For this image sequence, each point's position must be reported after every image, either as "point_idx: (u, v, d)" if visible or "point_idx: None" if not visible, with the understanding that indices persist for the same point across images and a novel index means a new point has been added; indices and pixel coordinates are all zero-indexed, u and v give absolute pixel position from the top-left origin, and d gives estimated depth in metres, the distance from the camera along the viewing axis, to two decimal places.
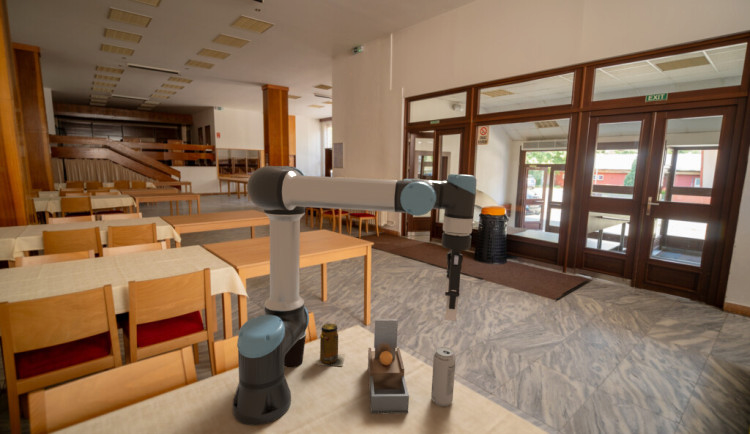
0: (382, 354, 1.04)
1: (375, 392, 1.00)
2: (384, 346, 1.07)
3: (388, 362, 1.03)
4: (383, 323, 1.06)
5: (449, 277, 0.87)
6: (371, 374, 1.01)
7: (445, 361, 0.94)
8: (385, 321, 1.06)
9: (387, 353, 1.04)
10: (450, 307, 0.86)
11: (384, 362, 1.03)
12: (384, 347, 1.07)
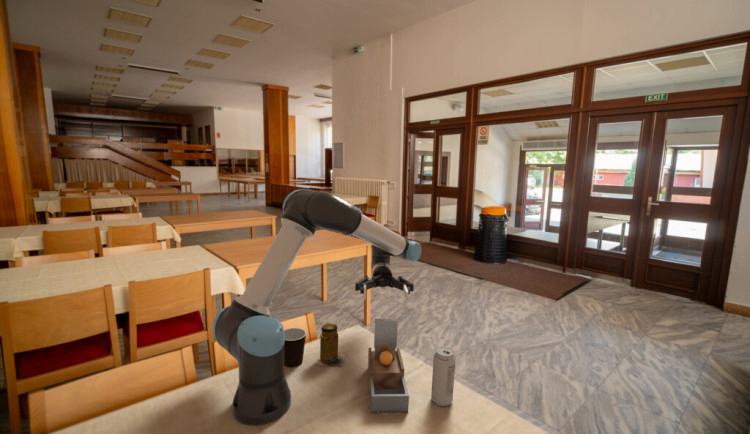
0: (382, 354, 1.04)
1: (375, 392, 1.00)
2: (384, 346, 1.07)
3: (388, 362, 1.03)
4: (383, 323, 1.06)
5: (399, 281, 1.22)
6: (371, 374, 1.01)
7: (445, 361, 0.94)
8: (385, 321, 1.06)
9: (387, 353, 1.04)
10: (409, 290, 1.16)
11: (384, 362, 1.03)
12: (384, 347, 1.07)
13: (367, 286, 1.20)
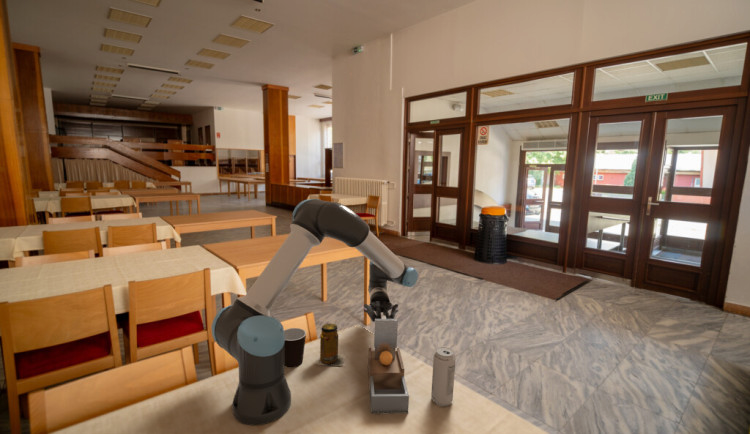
0: (382, 354, 1.04)
1: (375, 392, 1.00)
2: (384, 346, 1.07)
3: (388, 362, 1.03)
4: (383, 323, 1.06)
5: (387, 310, 1.22)
6: (371, 374, 1.01)
7: (445, 361, 0.94)
8: (385, 321, 1.06)
9: (387, 353, 1.04)
10: None
11: (384, 362, 1.03)
12: (384, 347, 1.07)
13: None
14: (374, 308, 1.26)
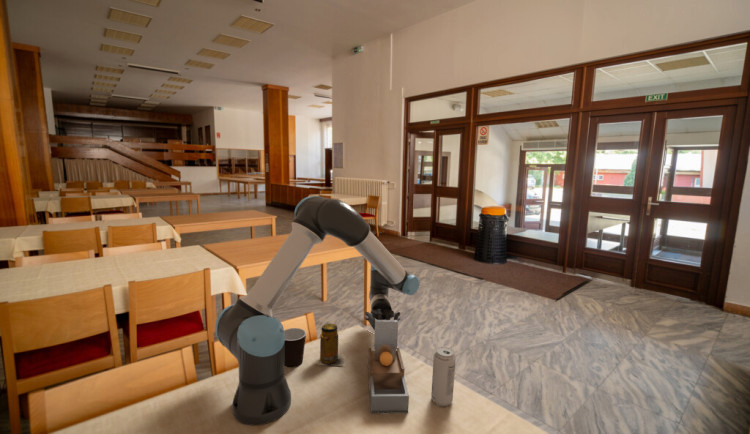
0: (382, 355, 1.04)
1: (375, 392, 1.00)
2: (384, 347, 1.06)
3: (388, 363, 1.03)
4: (383, 324, 1.05)
5: (389, 318, 1.18)
6: (371, 374, 1.01)
7: (445, 361, 0.94)
8: (385, 322, 1.05)
9: (387, 354, 1.04)
10: None
11: (384, 363, 1.03)
12: (384, 348, 1.06)
13: None
14: (376, 316, 1.22)
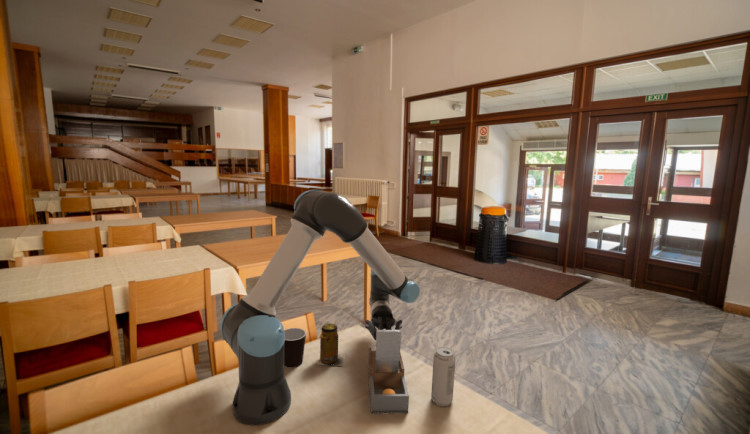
0: (384, 391, 0.95)
1: (375, 392, 1.00)
2: (387, 359, 1.00)
3: None
4: (385, 334, 0.99)
5: (390, 327, 1.12)
6: (371, 374, 1.01)
7: (445, 360, 0.94)
8: (388, 332, 0.99)
9: (390, 389, 0.95)
10: None
11: None
12: (386, 360, 1.00)
13: None
14: (376, 324, 1.16)
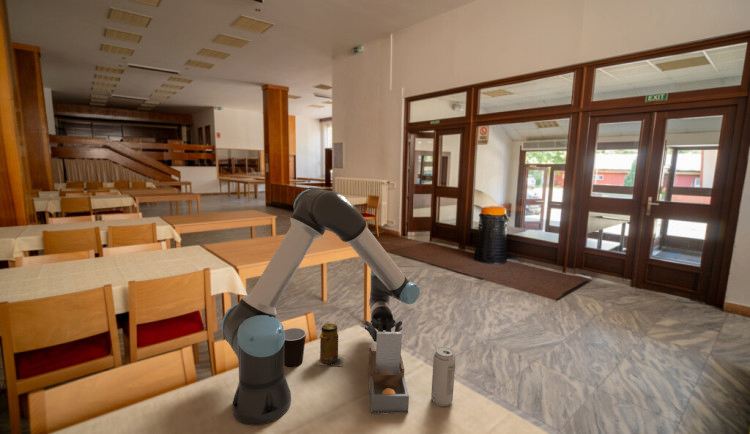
0: (384, 390, 0.95)
1: (375, 392, 1.00)
2: (387, 361, 0.99)
3: None
4: (385, 336, 0.97)
5: (390, 328, 1.11)
6: (371, 374, 1.01)
7: (445, 361, 0.94)
8: (388, 334, 0.97)
9: (390, 388, 0.96)
10: None
11: None
12: (387, 362, 0.99)
13: None
14: (376, 326, 1.14)
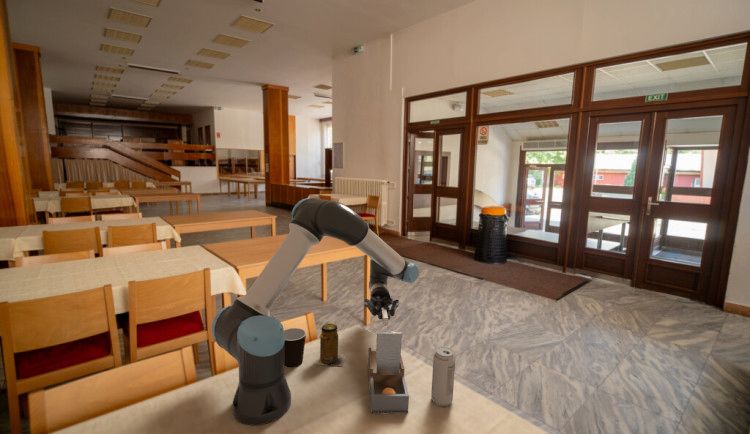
0: (384, 389, 0.96)
1: (375, 392, 1.00)
2: (387, 361, 0.99)
3: None
4: (385, 336, 0.97)
5: (388, 305, 1.22)
6: (371, 374, 1.01)
7: (445, 361, 0.94)
8: (388, 334, 0.97)
9: (389, 388, 0.96)
10: None
11: None
12: (387, 362, 0.99)
13: None
14: (375, 303, 1.26)
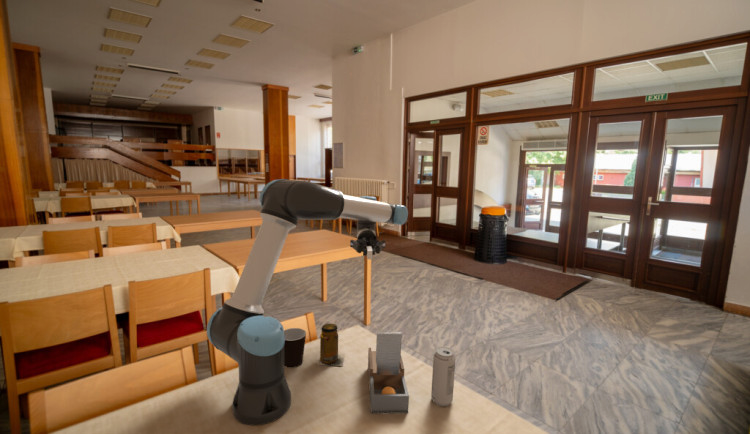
0: (384, 388, 0.97)
1: (375, 392, 1.00)
2: (387, 361, 0.99)
3: (391, 393, 0.95)
4: (385, 336, 0.97)
5: (373, 243, 1.19)
6: (371, 374, 1.01)
7: (445, 361, 0.94)
8: (388, 334, 0.97)
9: None
10: (375, 251, 1.12)
11: (387, 393, 0.95)
12: (387, 362, 0.99)
13: None
14: (360, 243, 1.23)
